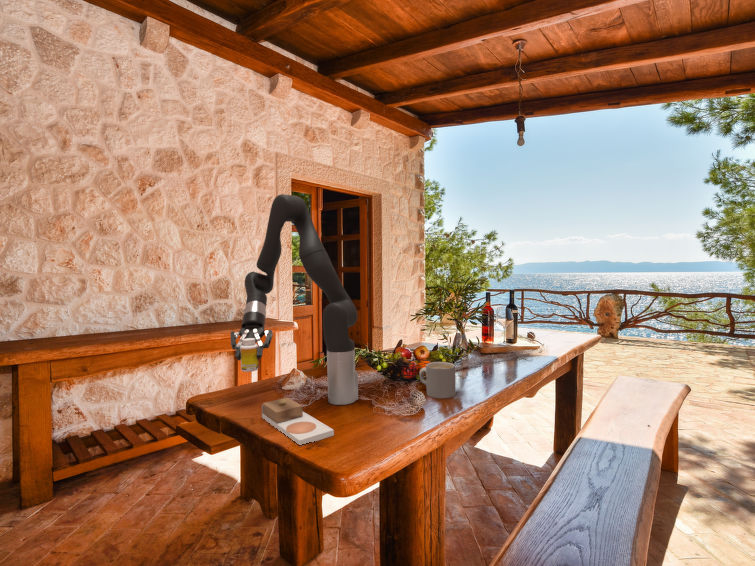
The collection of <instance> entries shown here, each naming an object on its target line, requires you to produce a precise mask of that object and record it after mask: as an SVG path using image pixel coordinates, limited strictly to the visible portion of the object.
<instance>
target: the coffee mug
mask: <svg viewBox="0 0 755 566" xmlns="http://www.w3.org/2000/svg"><path fill="white" fill-rule="evenodd" d="M418 373H419V376H418V377H419V381H420V382H421V383H422V384H423V385H424V386H426V395H427V396H429V397H430V398H431V397H432V398H433V399H450V398H454V397H455V396H456V385H457V384H456V365H455V364H454V363H451V362H446V361H434V362H429V363H426V365H425V367H422V368H421V369H420V371H419V372H418ZM424 373H426V375H424ZM425 376H426V377H425ZM425 378H426V379H425Z"/></svg>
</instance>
